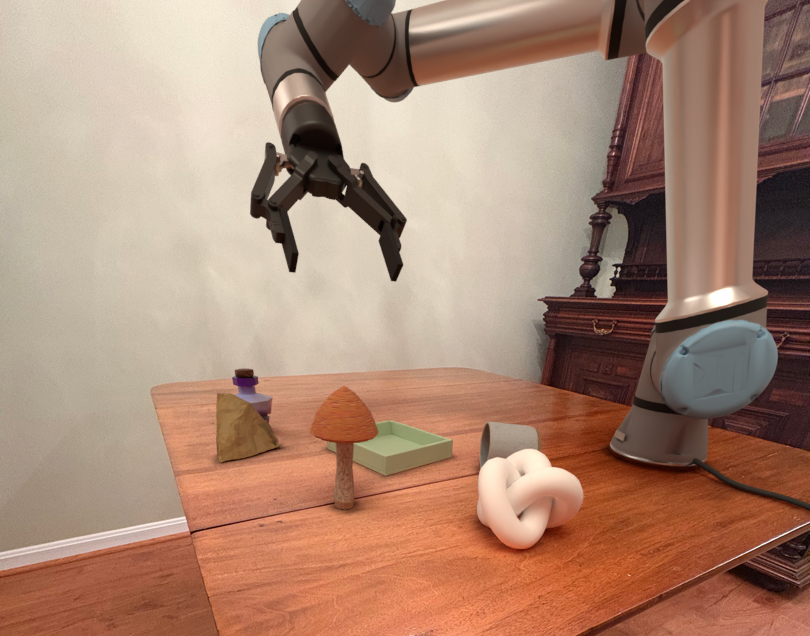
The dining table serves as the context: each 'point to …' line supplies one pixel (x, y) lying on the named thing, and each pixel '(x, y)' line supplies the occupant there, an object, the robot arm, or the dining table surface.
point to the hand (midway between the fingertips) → (348, 268)
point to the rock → (241, 429)
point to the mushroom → (344, 436)
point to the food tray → (399, 448)
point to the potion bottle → (252, 392)
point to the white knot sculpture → (525, 497)
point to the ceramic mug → (506, 440)
